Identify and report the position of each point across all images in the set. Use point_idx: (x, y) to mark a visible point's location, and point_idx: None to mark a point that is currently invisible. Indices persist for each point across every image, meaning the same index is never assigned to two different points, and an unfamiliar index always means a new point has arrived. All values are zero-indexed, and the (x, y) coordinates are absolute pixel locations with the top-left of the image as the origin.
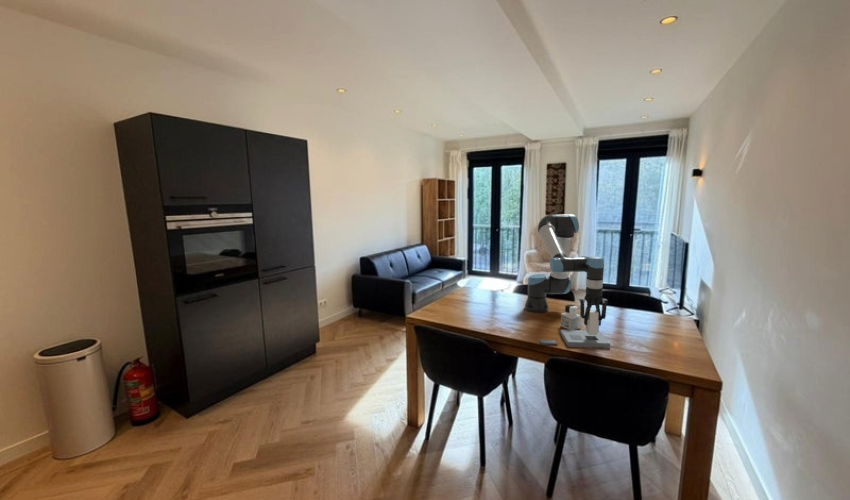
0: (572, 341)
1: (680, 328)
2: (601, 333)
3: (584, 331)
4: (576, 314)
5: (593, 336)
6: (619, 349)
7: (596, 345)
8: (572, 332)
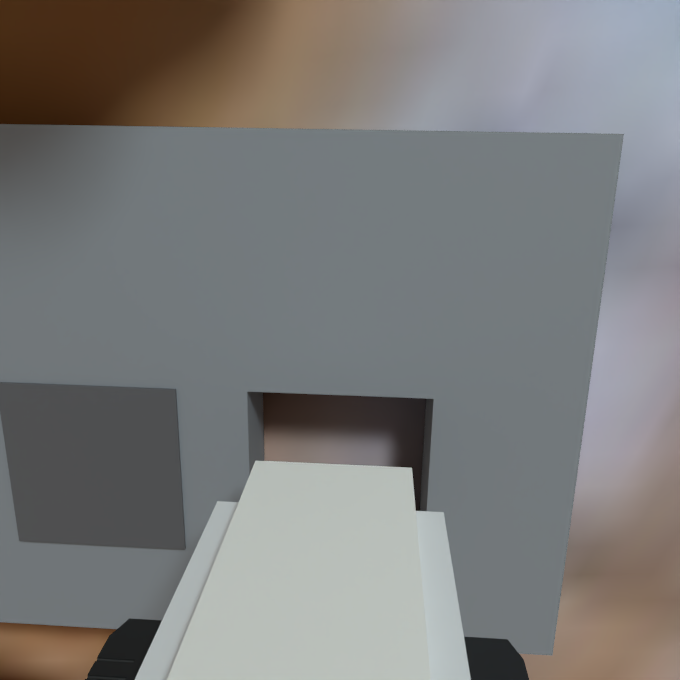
0: (15, 604)
1: None
2: (602, 276)
3: (305, 191)
4: None
5: (402, 394)
6: (643, 631)
7: None
8: (66, 258)
